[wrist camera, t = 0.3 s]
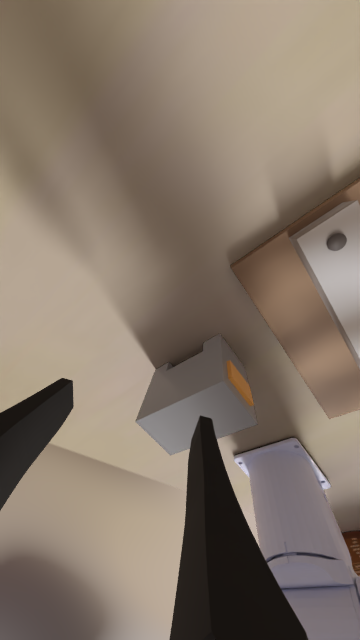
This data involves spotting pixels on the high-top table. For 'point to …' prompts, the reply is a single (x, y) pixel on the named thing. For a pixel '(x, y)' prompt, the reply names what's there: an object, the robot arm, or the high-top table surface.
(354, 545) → the food container
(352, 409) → the rail board
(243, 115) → the high-top table surface
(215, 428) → the block
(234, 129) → the high-top table surface
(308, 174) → the high-top table surface
